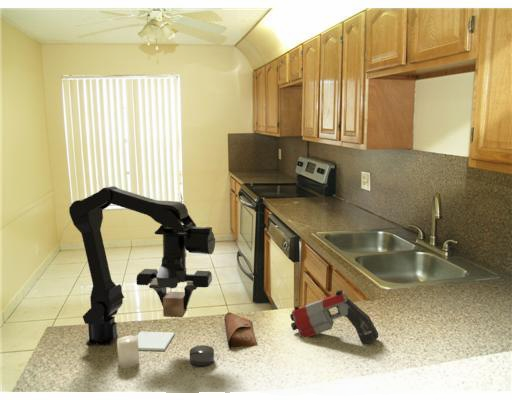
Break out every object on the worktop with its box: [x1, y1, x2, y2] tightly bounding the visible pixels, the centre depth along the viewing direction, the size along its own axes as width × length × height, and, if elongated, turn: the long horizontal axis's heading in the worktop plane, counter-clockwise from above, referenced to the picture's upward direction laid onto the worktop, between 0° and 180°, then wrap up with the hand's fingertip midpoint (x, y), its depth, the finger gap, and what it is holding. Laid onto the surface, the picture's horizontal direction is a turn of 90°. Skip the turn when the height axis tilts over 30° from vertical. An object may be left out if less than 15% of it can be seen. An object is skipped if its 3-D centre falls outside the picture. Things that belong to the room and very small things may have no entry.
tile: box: [135, 331, 176, 352], centre depth 122 cm, size 10×10×1 cm
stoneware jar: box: [116, 335, 140, 369], centre depth 110 cm, size 5×5×6 cm
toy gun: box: [289, 289, 379, 344], centre depth 125 cm, size 5×22×15 cm, turn 73°
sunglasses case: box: [224, 311, 259, 349], centre depth 128 cm, size 18×7×7 cm
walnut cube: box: [162, 291, 188, 318], centre depth 117 cm, size 5×5×5 cm
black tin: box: [189, 345, 215, 369], centre depth 111 cm, size 6×6×3 cm
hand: (175, 309), depth 117 cm, fingers closed on walnut cube, 5 cm apart
